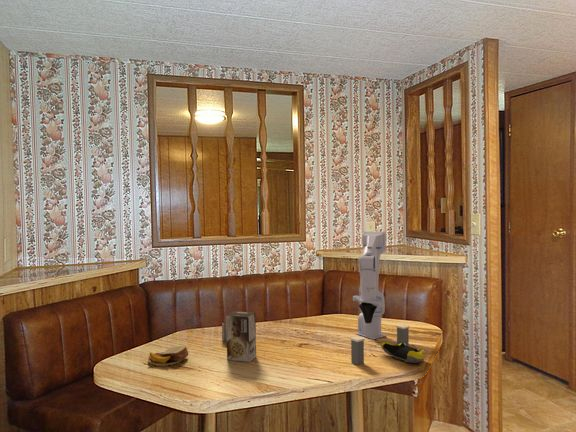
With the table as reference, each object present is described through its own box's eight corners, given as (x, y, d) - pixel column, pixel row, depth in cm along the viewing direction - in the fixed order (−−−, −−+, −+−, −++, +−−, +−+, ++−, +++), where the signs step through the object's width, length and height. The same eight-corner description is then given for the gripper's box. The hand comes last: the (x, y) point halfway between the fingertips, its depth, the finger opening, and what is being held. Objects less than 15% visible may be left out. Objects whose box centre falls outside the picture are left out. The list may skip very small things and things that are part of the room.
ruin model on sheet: (248, 337, 181) (247, 314, 180) (250, 339, 178) (250, 316, 178) (221, 341, 176) (221, 317, 176) (224, 343, 173) (223, 319, 173)
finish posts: (350, 362, 149) (350, 338, 149) (402, 346, 166) (402, 324, 165) (357, 365, 147) (357, 340, 146) (409, 348, 163) (409, 326, 163)
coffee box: (256, 356, 157) (256, 312, 156) (249, 362, 151) (249, 316, 150) (234, 353, 160) (233, 310, 159) (226, 359, 154) (225, 314, 153)
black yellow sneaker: (412, 370, 143) (431, 363, 148) (412, 353, 142) (431, 347, 148) (378, 357, 155) (397, 351, 161) (378, 341, 155) (397, 336, 161)
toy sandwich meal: (162, 353, 162) (162, 341, 162) (193, 357, 157) (193, 344, 157) (140, 365, 150) (140, 351, 150) (173, 370, 145) (173, 356, 145)
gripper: (347, 285, 168) (347, 320, 168) (375, 291, 156) (375, 328, 157) (359, 283, 172) (360, 317, 173) (388, 289, 161) (388, 325, 161)
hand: (368, 322), depth 165 cm, fingers closed
